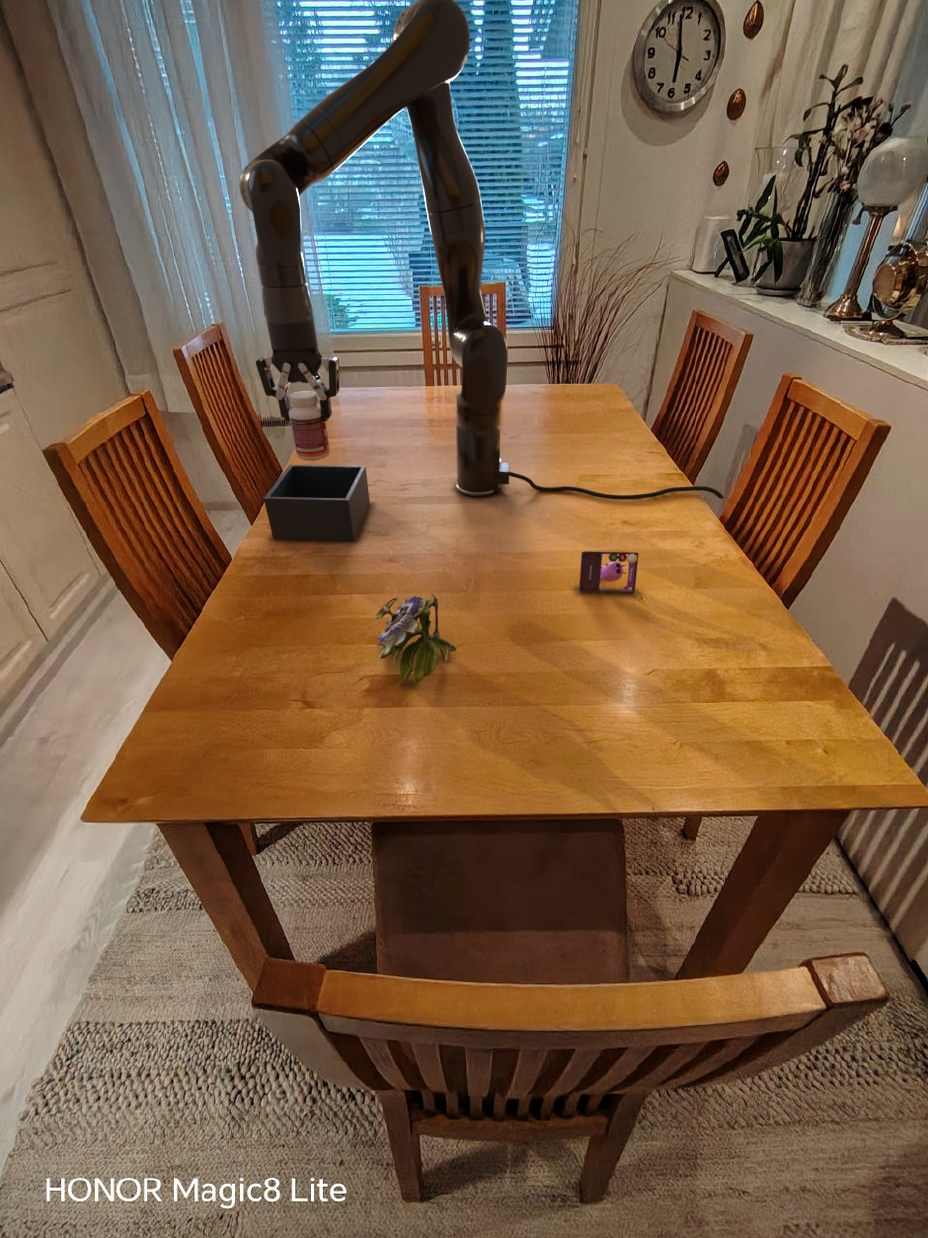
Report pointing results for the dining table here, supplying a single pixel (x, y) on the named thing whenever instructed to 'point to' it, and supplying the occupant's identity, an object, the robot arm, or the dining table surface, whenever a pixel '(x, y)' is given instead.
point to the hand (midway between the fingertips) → (307, 419)
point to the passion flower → (405, 629)
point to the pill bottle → (308, 426)
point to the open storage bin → (318, 503)
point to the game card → (606, 571)
